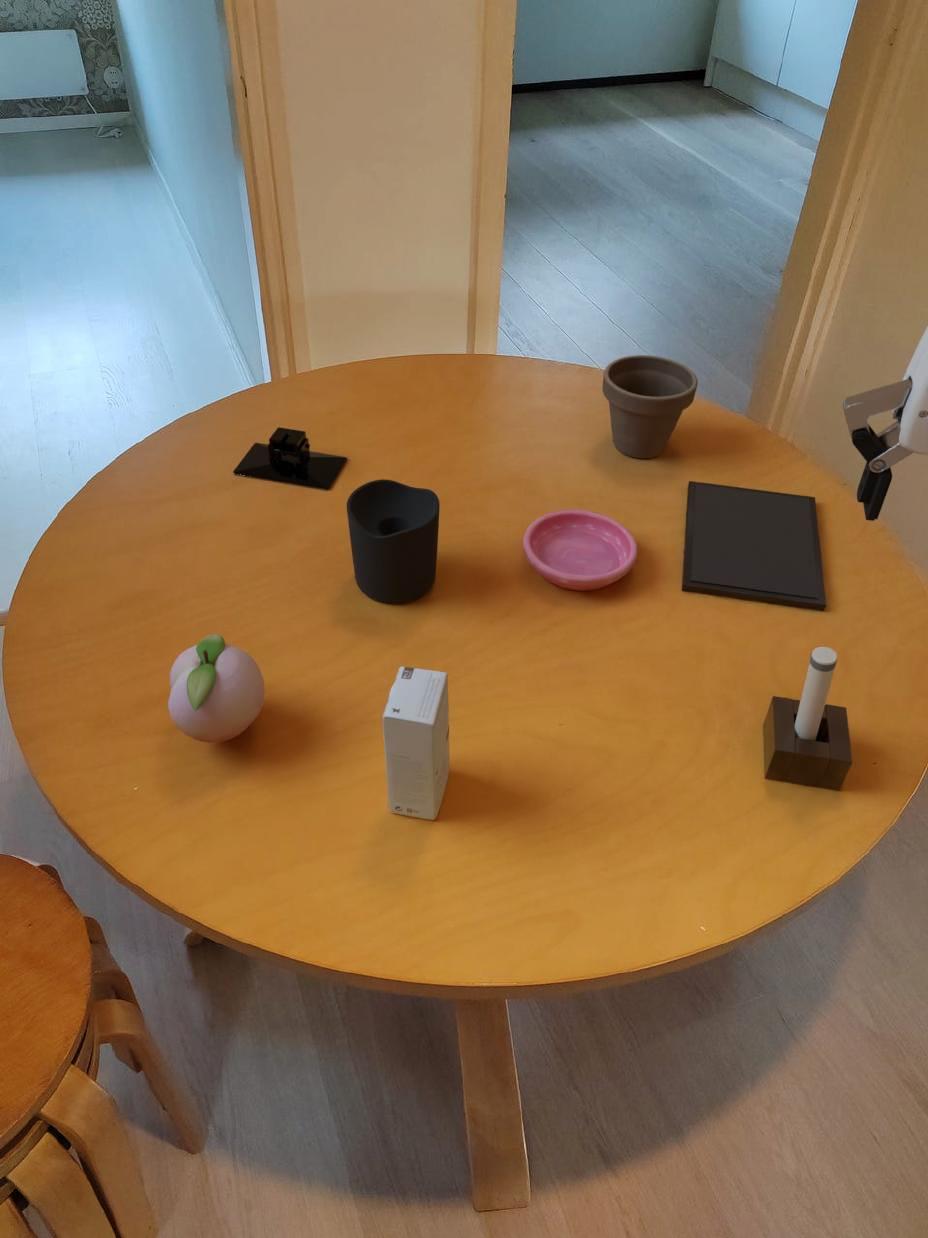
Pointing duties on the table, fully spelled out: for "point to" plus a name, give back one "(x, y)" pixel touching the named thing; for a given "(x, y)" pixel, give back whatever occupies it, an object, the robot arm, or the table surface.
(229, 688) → the decorative fruit
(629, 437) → the flower pot
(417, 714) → the cosmetic box
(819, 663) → the stylus
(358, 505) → the pen holder
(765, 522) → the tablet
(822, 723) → the pen stand
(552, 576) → the saucer
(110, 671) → the table surface
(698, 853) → the table surface
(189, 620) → the table surface
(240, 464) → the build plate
